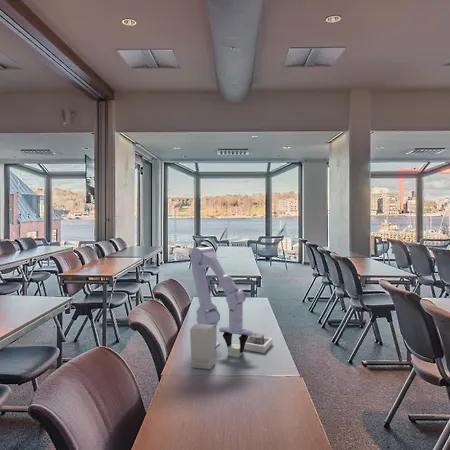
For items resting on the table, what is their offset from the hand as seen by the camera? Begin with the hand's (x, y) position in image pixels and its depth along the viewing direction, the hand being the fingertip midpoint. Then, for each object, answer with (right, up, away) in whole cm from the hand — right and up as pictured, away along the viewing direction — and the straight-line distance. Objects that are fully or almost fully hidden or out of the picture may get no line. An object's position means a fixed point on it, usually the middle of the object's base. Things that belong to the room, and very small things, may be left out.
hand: (235, 350), depth 158 cm
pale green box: (0, -1, 0) cm, 1 cm away
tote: (+10, -1, +9) cm, 13 cm away
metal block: (+10, -1, +9) cm, 13 cm away
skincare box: (-13, -2, -11) cm, 18 cm away
